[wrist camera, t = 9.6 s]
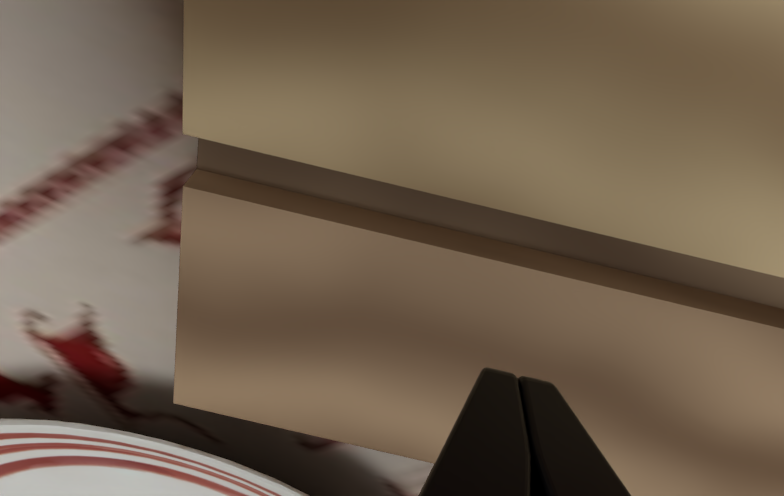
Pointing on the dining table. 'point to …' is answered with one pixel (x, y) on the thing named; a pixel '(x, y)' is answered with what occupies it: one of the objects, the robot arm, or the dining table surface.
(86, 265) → the dining table surface
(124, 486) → the dinner plate
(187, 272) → the floor board
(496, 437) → the robot arm
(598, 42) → the click plank
